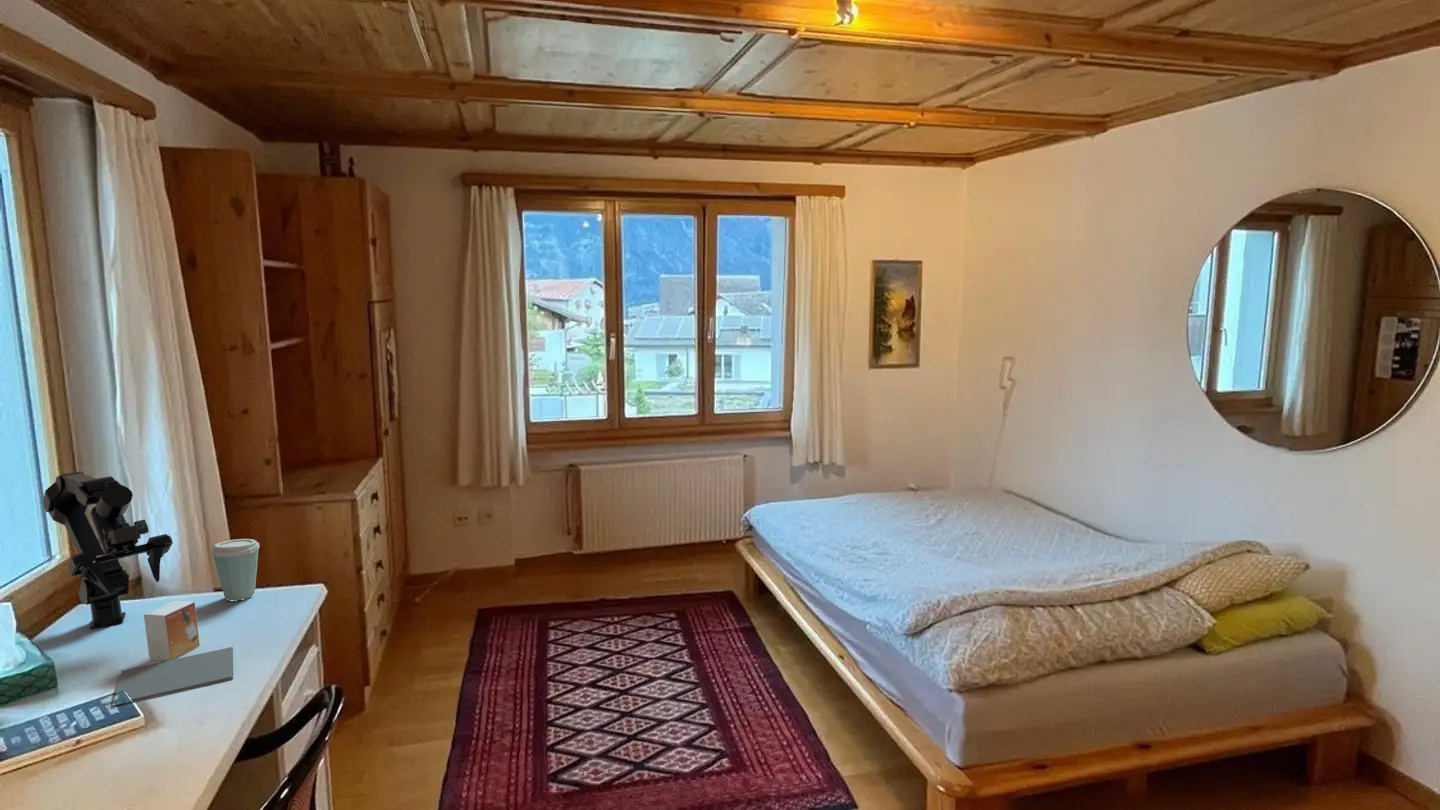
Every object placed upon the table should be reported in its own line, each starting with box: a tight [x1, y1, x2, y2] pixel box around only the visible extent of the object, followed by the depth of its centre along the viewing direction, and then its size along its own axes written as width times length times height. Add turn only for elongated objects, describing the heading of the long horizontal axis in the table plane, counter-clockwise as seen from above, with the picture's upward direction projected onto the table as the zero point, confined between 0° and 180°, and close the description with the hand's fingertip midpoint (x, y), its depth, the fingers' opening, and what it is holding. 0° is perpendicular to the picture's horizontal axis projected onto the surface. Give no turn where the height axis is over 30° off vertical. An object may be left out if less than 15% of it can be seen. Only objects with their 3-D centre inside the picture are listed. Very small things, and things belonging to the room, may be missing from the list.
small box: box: [143, 600, 201, 662], centre depth 178 cm, size 8×6×10 cm
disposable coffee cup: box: [211, 538, 260, 602], centre depth 209 cm, size 11×11×15 cm
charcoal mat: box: [115, 646, 234, 703], centre depth 168 cm, size 16×20×1 cm
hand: (134, 587), depth 182 cm, fingers open, 9 cm apart
